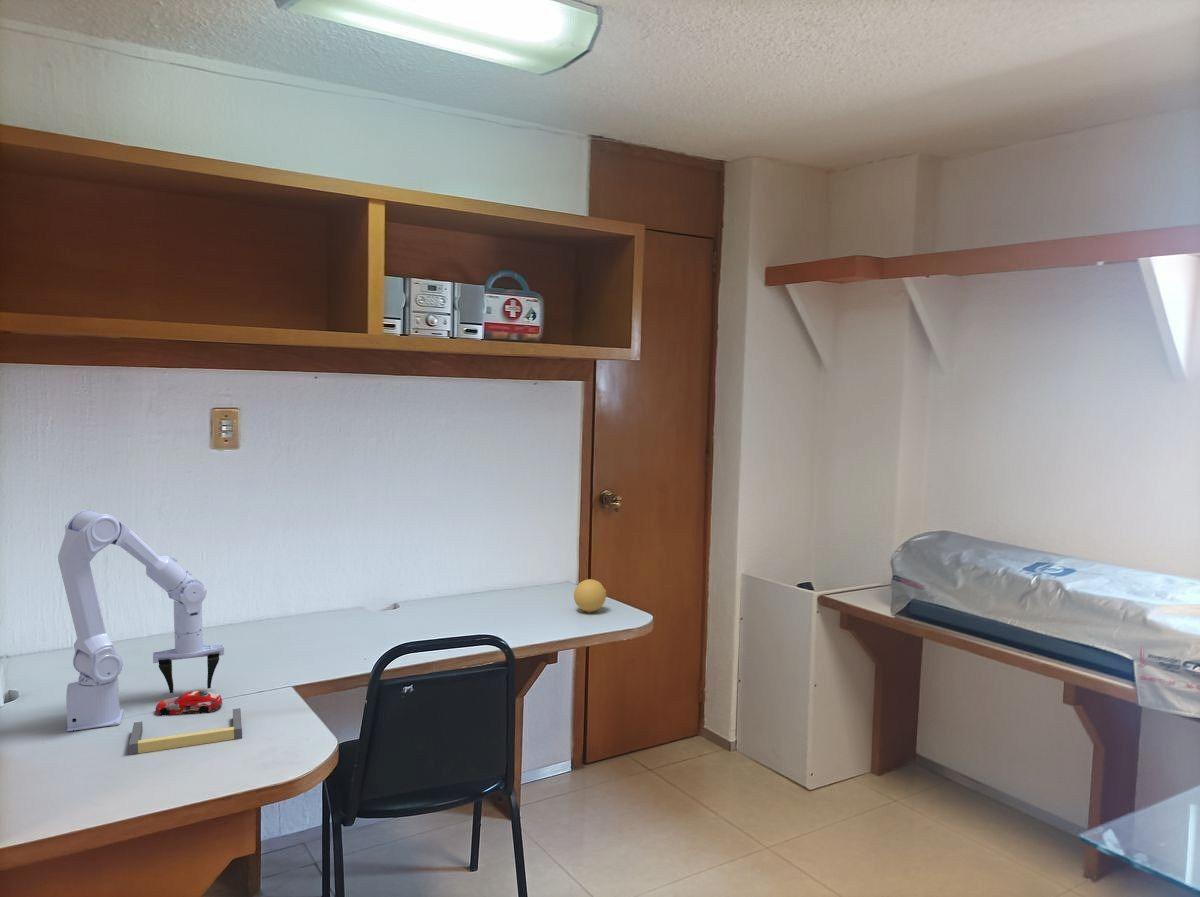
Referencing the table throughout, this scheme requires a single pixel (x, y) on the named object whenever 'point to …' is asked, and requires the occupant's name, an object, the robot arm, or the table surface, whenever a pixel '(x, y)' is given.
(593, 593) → the stress ball
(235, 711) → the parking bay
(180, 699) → the race car
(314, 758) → the table surface
